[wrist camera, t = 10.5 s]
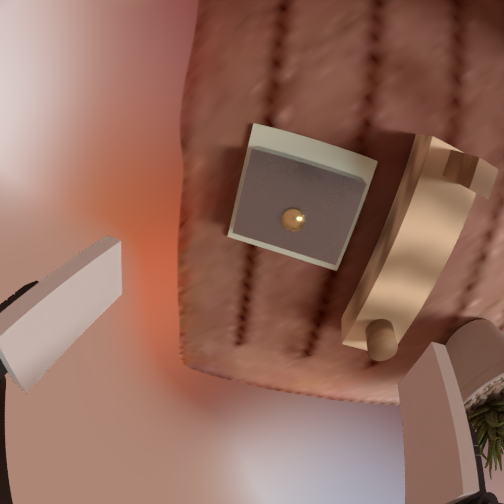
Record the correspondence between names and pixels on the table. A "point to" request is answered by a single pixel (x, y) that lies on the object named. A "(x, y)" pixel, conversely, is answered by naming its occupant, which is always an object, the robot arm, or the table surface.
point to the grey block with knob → (297, 204)
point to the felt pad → (308, 151)
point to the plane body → (414, 244)
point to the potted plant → (481, 382)
